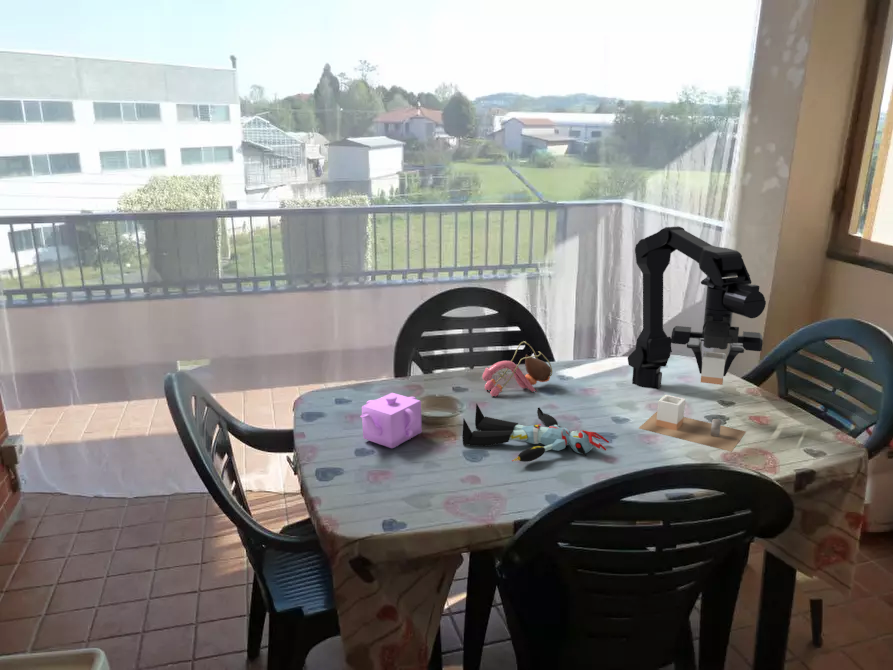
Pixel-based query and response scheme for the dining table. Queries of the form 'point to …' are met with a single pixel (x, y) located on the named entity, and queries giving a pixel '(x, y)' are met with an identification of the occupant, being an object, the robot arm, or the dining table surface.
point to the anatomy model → (518, 373)
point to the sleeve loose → (713, 368)
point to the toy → (528, 435)
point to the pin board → (699, 432)
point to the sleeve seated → (670, 412)
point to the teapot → (391, 419)
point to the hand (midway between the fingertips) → (712, 374)
